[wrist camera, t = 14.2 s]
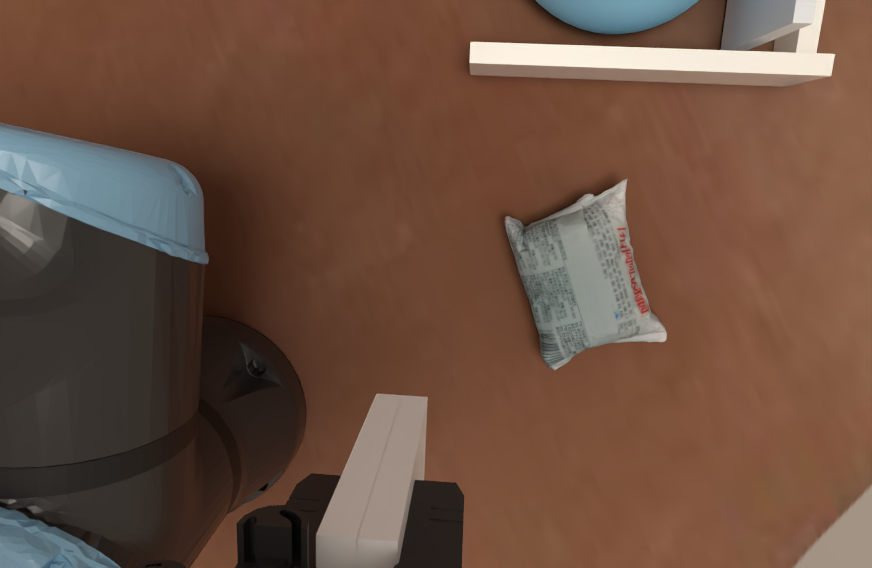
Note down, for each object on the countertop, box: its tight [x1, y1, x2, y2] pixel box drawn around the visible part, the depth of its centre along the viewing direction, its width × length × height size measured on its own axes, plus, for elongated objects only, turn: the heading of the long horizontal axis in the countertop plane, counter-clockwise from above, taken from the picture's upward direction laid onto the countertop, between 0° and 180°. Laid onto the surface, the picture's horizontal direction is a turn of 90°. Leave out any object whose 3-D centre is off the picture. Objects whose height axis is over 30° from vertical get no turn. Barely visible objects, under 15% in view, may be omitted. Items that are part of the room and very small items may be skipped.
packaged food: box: [504, 179, 667, 370], centre depth 40 cm, size 9×12×5 cm
